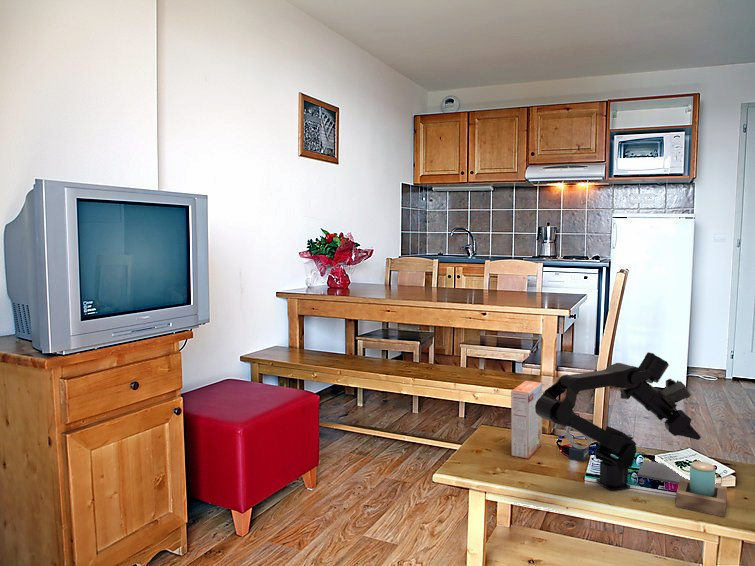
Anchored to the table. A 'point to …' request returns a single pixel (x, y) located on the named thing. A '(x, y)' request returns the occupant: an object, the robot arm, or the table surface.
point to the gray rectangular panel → (659, 472)
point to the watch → (577, 448)
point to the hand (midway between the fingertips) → (693, 431)
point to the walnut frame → (701, 499)
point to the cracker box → (525, 420)
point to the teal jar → (702, 479)
